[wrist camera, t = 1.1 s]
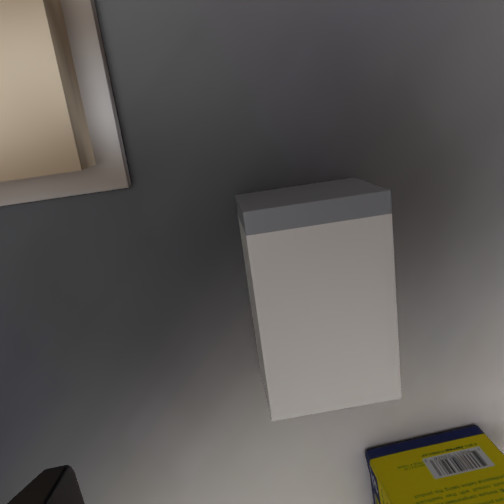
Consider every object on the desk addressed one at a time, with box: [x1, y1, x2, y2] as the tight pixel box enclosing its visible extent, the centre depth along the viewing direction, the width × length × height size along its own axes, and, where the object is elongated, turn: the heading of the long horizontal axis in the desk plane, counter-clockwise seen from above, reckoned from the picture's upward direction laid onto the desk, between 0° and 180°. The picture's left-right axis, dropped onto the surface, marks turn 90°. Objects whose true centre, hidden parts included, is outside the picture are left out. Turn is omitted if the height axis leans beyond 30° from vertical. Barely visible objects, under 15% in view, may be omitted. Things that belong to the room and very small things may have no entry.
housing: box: [235, 178, 402, 422], centre depth 19 cm, size 8×5×4 cm, turn 8°
